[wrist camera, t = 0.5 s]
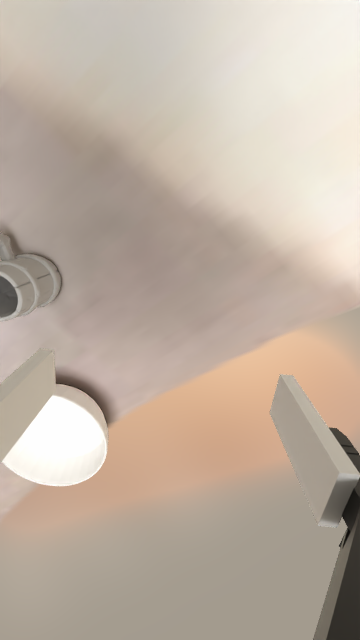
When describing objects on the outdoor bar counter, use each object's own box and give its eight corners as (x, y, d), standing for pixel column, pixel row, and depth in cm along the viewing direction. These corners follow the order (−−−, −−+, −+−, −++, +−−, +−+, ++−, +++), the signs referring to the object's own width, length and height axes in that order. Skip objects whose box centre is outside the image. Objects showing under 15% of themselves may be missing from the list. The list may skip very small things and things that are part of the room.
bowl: (135, 434, 51) (127, 467, 44) (51, 462, 54) (32, 498, 47) (85, 352, 45) (67, 376, 38) (-6, 389, 48) (-37, 417, 41)
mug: (31, 311, 43) (-24, 344, 32) (-17, 239, 39) (-98, 247, 28) (73, 291, 42) (31, 318, 30) (27, 215, 38) (-40, 213, 27)
